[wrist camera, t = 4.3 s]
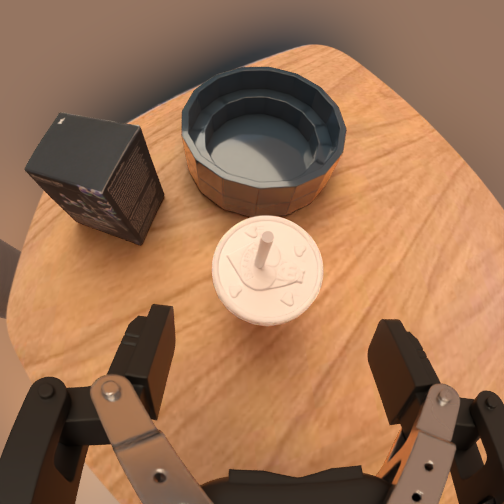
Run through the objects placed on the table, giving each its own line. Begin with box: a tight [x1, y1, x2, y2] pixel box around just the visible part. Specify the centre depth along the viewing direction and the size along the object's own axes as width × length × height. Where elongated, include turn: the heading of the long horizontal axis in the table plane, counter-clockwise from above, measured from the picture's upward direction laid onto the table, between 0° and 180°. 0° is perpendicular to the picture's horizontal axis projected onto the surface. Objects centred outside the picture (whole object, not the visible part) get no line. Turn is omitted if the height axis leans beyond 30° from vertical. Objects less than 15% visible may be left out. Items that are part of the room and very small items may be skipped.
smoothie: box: [212, 215, 323, 326], centre depth 20 cm, size 6×6×14 cm
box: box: [25, 113, 164, 245], centre depth 24 cm, size 8×6×11 cm
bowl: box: [182, 67, 346, 217], centre depth 28 cm, size 14×14×6 cm
